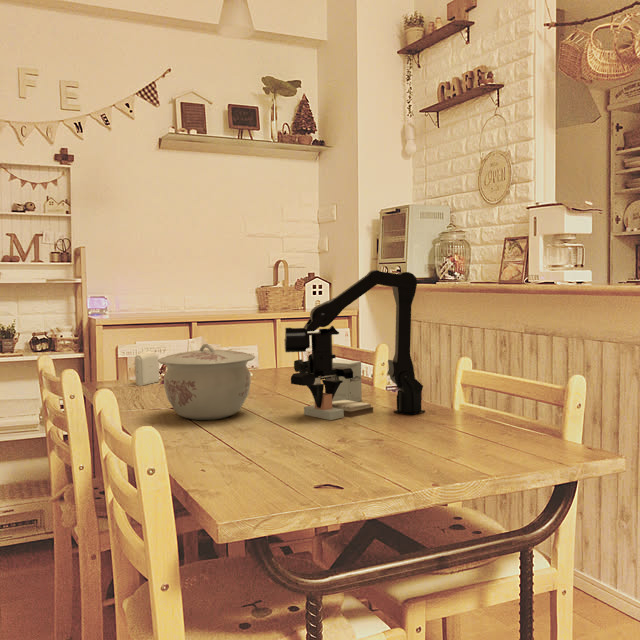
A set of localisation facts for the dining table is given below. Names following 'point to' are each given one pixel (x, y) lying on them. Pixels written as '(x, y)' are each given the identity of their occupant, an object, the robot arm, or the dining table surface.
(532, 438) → the dining table surface
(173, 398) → the chamber pot
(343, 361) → the supplement box
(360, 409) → the pad
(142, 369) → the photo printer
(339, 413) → the stub
